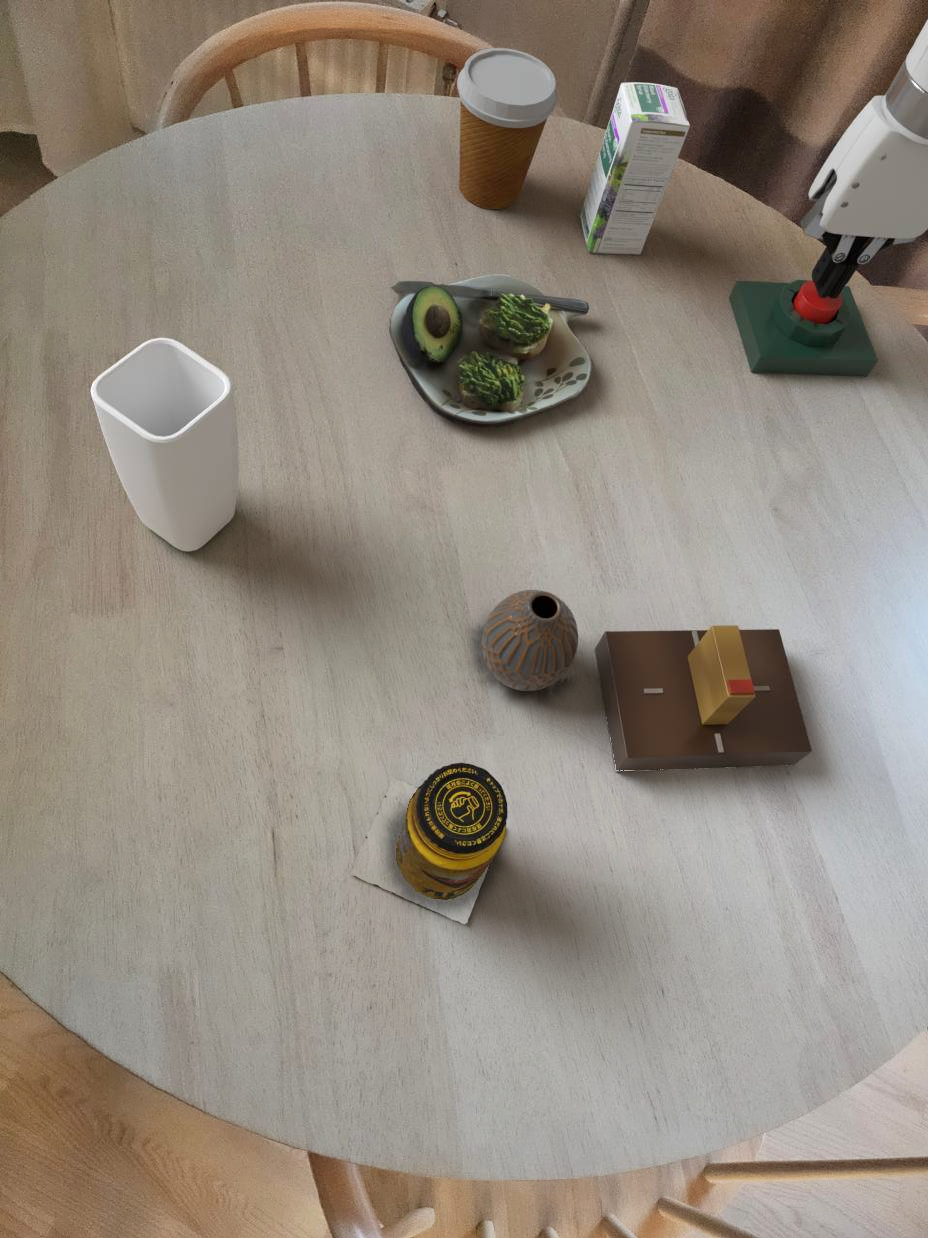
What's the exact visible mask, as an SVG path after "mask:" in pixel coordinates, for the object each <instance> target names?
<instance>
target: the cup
mask: <svg viewBox="0 0 928 1238" xmlns="http://www.w3.org/2000/svg"><path fill="white" fill-rule="evenodd" d="M89 390H90V391H89V392H90V395H91V398H92V403H93V405H94V408H95V412H96V416H97V419H98V422H99V425H100V429H101V432H102V435H103V438H104V441H105V443H106V447H107V449H108V452H109V455H110V458H111V461H112V463H113V465H114V466H113V467H114V468H115V470H116V473H117V475H118V479H119V480H120V483H121V485H122V487H123V489H124V491H125V493H126V496H127V498H128V500H129V501H130V503H131V505H132V507H133V509H134V510H135V513H136V514H137V516H138V517H139V520H140V521H141V523H143V524H144V526H145V527H146V528H148V529H150V530H151V531H152V532H153V533H155V534H156V535H158V536H159V537H160V538H162V539H163V540H165V542H167V543H168V544H170V545H171V546H173V547H174V548H176V549H177V550H180V551H182V552H194V551H197V550H199V549H200V548H202V547H204V546H205V545H206V544H207V543H208V542H209V541H210V540H211V539H212V538H214V537H215V536H216V534H218V533H219V532H220V531H221V530H223V528H225V526H227V525H228V524H229V523H230V522H231V520H232V519H233V518H234V516H235V511H236V504H237V497H238V487H239V486H238V485H239V472H240V468H239V467H240V466H239V465H240V464H239V463H240V462H239V437H238V436H239V435H238V433H239V432H238V421H237V413H236V411H237V410H236V402H235V394H234V385H233V383H232V380H231V378H230V377H229V375H228V374H226V373H225V372H224V371H223V370H222V369H220V368H219V367H217V366H216V365H214V364H212V363H211V362H210V361H208V360H207V359H205V358H203V356H201V355H199V354H198V353H196V352H195V351H193V350H192V349H190V348H189V347H188V346H186V345H184V344H183V343H182V342H180V341H177V340H175V339H173V338H167V337H157V338H151V339H149V340H147V341H145V342H143V343H141V344H140V345H138V346H137V347H136V348H134V349H133V350H132V351H130V352H129V353H127V354H126V355H125V356H124V357H122V358H120V360H118V361H117V362H116V363H114V364H113V365H112V366H110V367H109V368H107V369H106V370H105V371H103V372H102V373H101V374H100V375H98V376H97V377H96V378H95V379H94V381H92V384H91V388H90V389H89Z"/></svg>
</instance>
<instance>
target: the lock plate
mask: <svg viewBox="0 0 928 1238" xmlns="http://www.w3.org/2000/svg"><path fill="white" fill-rule="evenodd" d="M708 630H709V629H691V630H690V629H689V630H688V629H687V630H683V629H681V630H627V631H626V630H620V631H619V630H618V631H617V630H614V631H613V630H612V631H611V630H610V631H609V630H608V631H604V632H603V634H602V636H601V638H600V640H598V642H597V645H596V646H595V648H594V653H595V659H596V666H597V672H598V677H599V678H598V679H599V683H601V684H600V689H602V690H601V695H602V701H604V702H603V707H604V712H606V713H605V718H606V717H607V719H606V723H607V722H608V725H607V729H608V728H609V731H608V735H609V734H610V737H611V743H612V749H613V754H614V760H615V764H616V770H619V771H620V770H623V771H624V770H656V771H666V770H665V769H683V770H704V769H703V768H709V769H727V768H726V767H736V768H758V767H759V766H762V767H785V765H788V766H795V765H797V764H798V763H799V762H801V761H802V760H803V759H804V758H806V757H807V756H808V755H809V754H811V753H812V752H813V749H812V745H811V741H810V738H809V735H808V731H807V727H806V723H805V719H804V716H803V713H802V708H801V705H800V701H799V697H798V694H797V690H796V686H795V683H794V678H793V675H792V672H791V671H792V670H791V669H790V665H789V661H788V657H787V653H786V649H785V646H784V642H783V638H782V635H781V631H780V629H779V628H774V629H773V628H769V629H767V628H766V629H764V628H763V629H761V628H760V629H739V632H740V636H741V640H742V644H743V648H744V652H745V656H746V660H747V664H748V668H749V672H750V676H751V680H752V684H753V688H754V692H755V698H754V699H753V700H752V701H751V702H750V703H749V704H748V705H747V706H746V707H745V708H744V709H743V710H742V711H741V712H740V713H739V714H738V715H737V716H736V717H735V718H734V719H732V720H731V721H730V722H729V723H728V724H715V725H702V721H701V717H700V712H699V707H698V703H697V698H696V694H695V689H694V685H693V680H692V675H691V671H690V666H689V662H688V655H689V654H690V653H691V652H692V650H693V649H694V648H695V646H696V645H697V644H698V643H699V641H700V640H701V639H702V638H703V636H704V635H705V634H706V632H707V631H708ZM610 737H609V738H610ZM611 743H610V744H611ZM612 749H611V750H612ZM782 765H783V766H782ZM755 766H756V767H755ZM757 766H758V767H757ZM695 768H696V769H695ZM698 768H699V769H698ZM700 768H702V769H700ZM660 769H661V770H660ZM662 769H664V770H662Z"/></svg>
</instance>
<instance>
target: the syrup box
mask: <svg viewBox="0 0 928 1238" xmlns="http://www.w3.org/2000/svg"><path fill="white" fill-rule="evenodd" d="M684 105H685V104H684V102H683V100H682V97H681V93H680V91H679V89H678V87H675V86H671V85H670V86H669V85H665V84H659V83H654V82H653V83H652V82H636V81H635V82H634V81H631V82H630V81H629V82H621V83H620V85H619V89H618V92H617V96H616V98H615V102H614V105H613V108H612V112H611V114H610V118H609V121H608V124H607V128H606V131H605V133H604V136H603V139H602V143H601V146H600V149H599V152H598V156H597V159H596V161H595V162H596V163H595V164H594V165H595V166H594V168H593V172H592V176H591V178H590V181H589V185H588V189H587V191H586V194H585V199H584V202H583V205H582V209H581V212H580V216H579V217H580V221H581V227H582V231H583V237H584V241H585V245H586V249H587V252H588V254H606V255H607V254H609V255H642V251H643V249H644V246H645V245H646V241H647V238H648V237H649V236H648V235H649V234H650V231H651V229H652V226H653V223H654V220H655V219H656V216H657V213H658V211H659V208H660V205H661V203H662V200H663V198H664V195H665V192H666V190H667V187H668V184H669V183H670V179H671V177H672V174H673V172H674V170H675V166H676V164H677V161H678V159H679V156H680V154H681V151H682V149H683V146H684V143H685V140H686V137H687V135H688V132H689V130H690V126H691V124H690V122H689V121H688V117H687V112H686V109H685V106H684Z"/></svg>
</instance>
